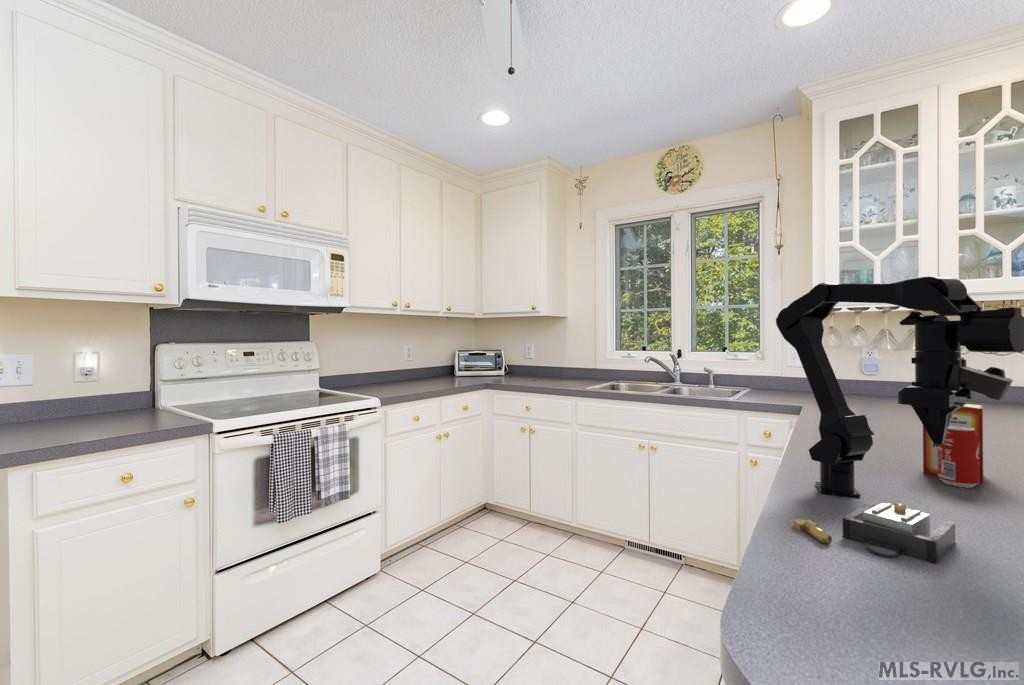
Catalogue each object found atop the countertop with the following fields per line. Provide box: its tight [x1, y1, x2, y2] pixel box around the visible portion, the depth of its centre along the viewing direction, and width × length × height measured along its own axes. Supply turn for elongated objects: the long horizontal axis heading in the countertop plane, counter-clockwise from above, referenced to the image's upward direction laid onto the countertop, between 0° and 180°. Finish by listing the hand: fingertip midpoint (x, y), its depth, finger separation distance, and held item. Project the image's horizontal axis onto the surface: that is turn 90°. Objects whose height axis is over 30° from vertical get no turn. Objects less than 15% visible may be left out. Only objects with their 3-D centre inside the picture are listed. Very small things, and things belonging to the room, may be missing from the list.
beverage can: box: [937, 425, 981, 489], centre depth 98 cm, size 6×6×12 cm
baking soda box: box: [922, 403, 984, 483], centre depth 104 cm, size 10×6×16 cm
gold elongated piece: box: [792, 519, 833, 546], centre depth 74 cm, size 7×3×2 cm, turn 176°
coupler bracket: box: [842, 502, 956, 564], centre depth 71 cm, size 14×11×3 cm
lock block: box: [863, 502, 931, 537], centre depth 71 cm, size 7×6×6 cm
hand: (938, 444), depth 79 cm, fingers closed
